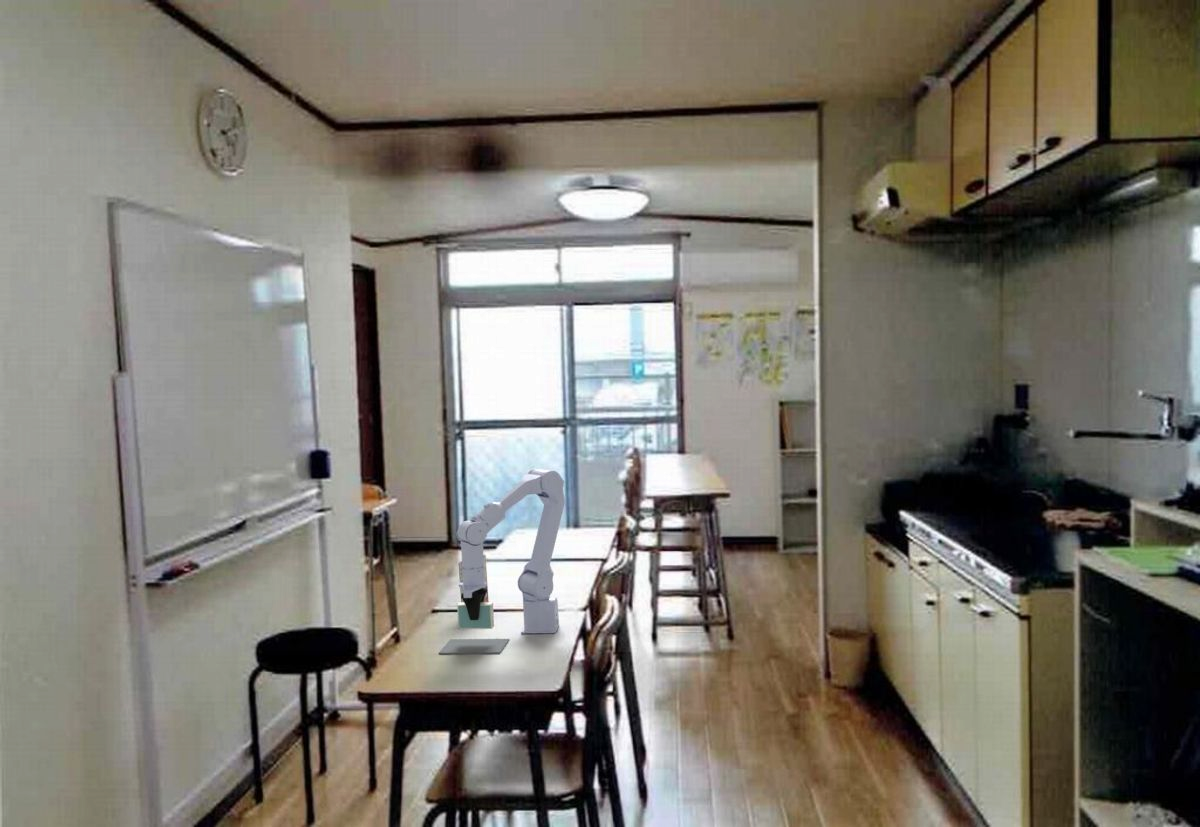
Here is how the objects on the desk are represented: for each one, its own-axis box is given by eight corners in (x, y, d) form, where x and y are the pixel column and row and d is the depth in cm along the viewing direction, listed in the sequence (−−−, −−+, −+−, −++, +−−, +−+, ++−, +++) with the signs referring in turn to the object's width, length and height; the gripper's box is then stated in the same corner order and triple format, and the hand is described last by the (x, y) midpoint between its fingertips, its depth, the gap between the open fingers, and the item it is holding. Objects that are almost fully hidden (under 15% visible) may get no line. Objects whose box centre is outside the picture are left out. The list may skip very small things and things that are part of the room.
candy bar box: (473, 607, 268) (470, 553, 267) (489, 607, 267) (486, 553, 266) (460, 617, 257) (457, 562, 256) (476, 617, 256) (474, 562, 255)
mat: (509, 640, 234) (509, 638, 234) (500, 653, 223) (500, 652, 223) (450, 640, 236) (450, 639, 236) (438, 654, 225) (438, 652, 225)
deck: (494, 626, 232) (493, 602, 232) (491, 628, 230) (490, 604, 229) (460, 626, 233) (459, 602, 233) (458, 629, 231) (457, 605, 230)
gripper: (465, 560, 238) (467, 610, 239) (450, 573, 224) (453, 626, 225) (490, 560, 237) (493, 610, 238) (477, 573, 223) (480, 626, 224)
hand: (475, 618), depth 231 cm, fingers closed on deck, 2 cm apart
